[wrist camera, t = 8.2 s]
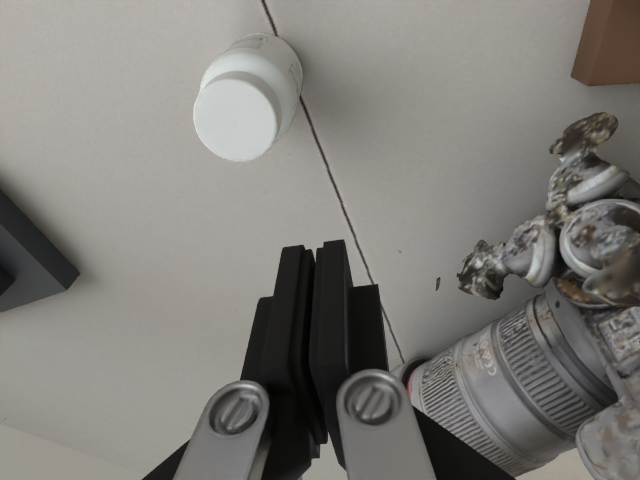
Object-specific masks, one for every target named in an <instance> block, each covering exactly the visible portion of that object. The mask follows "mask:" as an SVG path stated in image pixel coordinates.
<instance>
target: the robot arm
mask: <svg viewBox="0 0 640 480" xmlns="http://www.w3.org/2000/svg"><path fill="white" fill-rule="evenodd" d="M328 432H329V435H330V438H331V441H332V444H333V447H334V450H335V453H336V456H337V459H338V463H339V464H340V465H341V466H342V467H343V468H344V469H345V470H346V471H347V477H348V480H516V479H515V478H514V477H512V476H511V475H509V474H508V473H507V472H505V471H504V470H502V469H501V468H500V467H498V466H497V465H495V464H494V463H493V462H491V461H490V460H489V459H487V458H486V457H484V456H483V455H482V454H480V453H479V452H477V451H476V450H475V449H473V448H472V447H470V446H469V445H468V444H466V443H465V442H463V441H462V440H461V439H459V438H458V437H456V436H455V435H454V434H452V433H451V432H449V431H448V430H447V429H445V428H444V427H442V426H441V425H440V424H438V423H437V422H435V421H434V420H433V419H431V418H430V417H428V416H427V415H426V414H424V413H423V412H421V411H420V410H419V409H417V408H416V407H415V406H413V405H412V404H411V401H410V398H409V395H408V392H407V390H406V388H405V386H404V384H403V383H402V382H401V381H400V380H399V379H398V378H397V377H396V376H395V375H393V374H391V373H389V365H388V357H387V348H386V340H385V332H384V324H383V316H382V309H381V302H380V295H379V288H378V284H375V285H366V286H357V287H353V282H352V277H351V271H350V266H349V261H348V256H347V250H346V245H345V241H344V239H343V240H335V241H328V242H324V245H323V248H317V250H316V263H315V259H314V255H313V252H312V250H311V249H308V250H305V247H304V245H298V246H290V247H284V248H283V249H282V253H281V258H280V263H279V269H278V274H277V279H276V284H275V290H274V295H273V296H271V297H263V298H260V299H259V301H258V304H257V309H256V313H255V317H254V322H253V326H252V330H251V335H250V339H249V343H248V348H247V352H246V356H245V361H244V365H243V369H242V374H241V378H240V381H235V382H233V383H230V384H227V385H226V386H224V387H222V388H221V389H219V390H218V391H217V392H216V393H215V394H214V395H213V396H212V397H211V398H210V399H209V401H208V403H207V404H206V406H205V408H204V410H203V412H202V414H201V417H200V419H199V421H198V424H197V426H196V428H195V430H194V433H193V435H192V437H191V439H190V440H188V441H187V442H186V443H185V444H184V445H182V446H181V447H180V448H179V449H178V450H176V451H175V452H174V453H173V454H172V455H171V456H169V457H168V458H167V459H166V460H165V461H163V462H162V463H161V464H160V465H159V466H157V467H156V468H155V469H154V470H153V471H151V472H150V473H149V474H148V475H147V476H146V477H144V478H143V479H142V480H302V475H303V474H304V472H305V471H306V470H307V469H308V468H309V467H310V466H311V460H312V459H313V458H320V444H327V441H328Z"/></svg>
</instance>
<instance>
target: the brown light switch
mask: <svg viewBox="0 0 640 480" xmlns="http://www.w3.org/2000/svg"><path fill="white" fill-rule="evenodd" d="M571 77H572V78H574V79H576V80H578V81H579V82H581V83H583V84H585V85H587V86H598V85H614V84H630V83H640V0H591V2H590V6H589V9H588V13H587V17H586V21H585V25H584V28H583V32H582V36H581V40H580V43H579V47H578V51H577V55H576V58H575V62H574V66H573V70H572V74H571Z"/></svg>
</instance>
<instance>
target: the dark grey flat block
mask: <svg viewBox="0 0 640 480" xmlns="http://www.w3.org/2000/svg"><path fill="white" fill-rule="evenodd" d="M79 275H80V273H79V272H78V271H77V270H76V269H75V268H74V267H73V266H72V265H71V264H70V263H69V262H68V261H67V260H66V259H65V258H64V256H63V255H62V254H61V253H60V252H59V251H58V250H57V249H56V248H55V247H54V246H53V245H52V244H51V243H50V242H49V241H48V240H47V239H46V238H45V236H44V235H43V234H42V233H41V232H40V231H39V230H38V229H37V228H36V227H35V226H34V225H33V224H32V223H31V222H30V221H29V220H28V219H27V218H26V216H25V215H24V214H23V213H22V212H21V211H20V210H19V209H18V208H17V207H16V206H15V205H14V204H13V203H12V202H11V201H10V200H9V199H8V198H7V196H6V195H5V194H4V193H3V192H2V191H1V190H0V312H3V311H6V310H9V309H12V308H15V307H18V306H21V305H24V304H27V303H30V302H33V301H36V300H39V299H42V298H45V297H48V296H51V295H54V294H57V293H60V292H63V291H66V290H68V288H69V287H70V286H71V285H72V283H73V282H74V281H75V280H76V278H77V277H78V276H79Z"/></svg>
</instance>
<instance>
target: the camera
mask: <svg viewBox="0 0 640 480" xmlns="http://www.w3.org/2000/svg"><path fill="white" fill-rule="evenodd" d="M617 126H618V120H617V118H616V117H615V116H612V115H609V114H607V113H606V112H601V113H595V114H593V115H591V116H589V117H588V118H584V119H581V120H579V121H577V122H575V123H574V124H572V125H570V126H569V127H568V128H567V129H566V130H564V132H563V137H562V138H560V139H558V140H556V141H555V142H554V143H553V145H552V146H551V147H550V148H549V151H550V154H560V155H562V156H561V157H560V158H559V159H560V160H561V163H560V165H559V167H558V169H557V170H556V171H555V173H554V174H553V175H552V177H551V178H550V182H549V186H548V198H549V199H548V201H547V202H546V208H545V209H546V210H547V211H548V212H549V213H550V214H549V216H548V215H546V214H541V215H537V216H536V217H535V218H533V219H532V220H531V221H530V220H528V221H526V222H525V223H522V224H520V225H519V226H517V227H516V228H515V230H514V234H513V235H512V237H511V238H510V239H509V241H508V243H507V244H505V243H503V242H500V244H499V246H489V245H488V244H487V243H486V242H485V241H484V240H480V241H479V242H478V243H477V245H476V246H475V247H474V253H471V255H469V256H467V257H466V258H465V259H464V260H463V262H464V261H465V265H464V268H463V271H462V272H461V273H460V274H458V273H457V277H459V281H460V282H461V283H460V285H459V286H458V288H459V289H460V290H462V291H464V292H466V293H468V294H473V295H476V296H478V297H485V298H487V299H493V300H496V299H498V298H500V294H501V292H502V291H503V282H504V278H505V277H506V276H507V275H508V274H509V273H511V274H516V275H518V276H519V277H520V278H522V279H525V280H526V281H527V282H528V283H529V284H530V285H531V286H532V287H534V288H540V287H544V290H545V293H544V294H543V295H537V296H535V297H534V298H532V299H530V300H527V301H525V302H524V303H523V304H521V305H520V306H518V307H517V308H515V309H514V310H512V311H511V312H509V313H508V314H507V315H505V316H504V317H503V318H501V319H497V320H495V321H493V322H492V323H490V324H489V325H487V326H486V327H485V328H483V329H482V330H480V331H479V332H477V333H476V334H471V335H468V336H466V337H465V338H463V339H460V340H459V341H457V342H456V343H454V344H453V345H452V346H450V347H449V348H447V349H446V350H445V351H443V352H442V353H440V354H439V355H437V356H436V357H434V358H433V359H432V358H427V357H419V358H415V359H412V360H410V361H408V362H406V363H404V364H403V365H400V366H398V367H397V368H395V369H393V370H392V371H390V372H389V373H391V374H393V375H395V376H396V377H397V378H398V379H399V380H400V381H401V382H402V383H403V384H404V386H405V388H406V390H407V392H408V395H409V398H410V401H411V404H412V405H413V406H415V407H416V408H417V409H419V410H420V411H421V412H423V413H424V414H426V415H427V416H428V417H430V418H431V419H433V420H434V421H435V422H437V423H438V424H440V425H441V426H442V427H444V428H445V429H447V430H448V431H449V432H451V433H452V434H454V435H455V436H456V437H458V438H459V439H461V440H462V441H463V442H465V443H466V444H468V445H469V446H470V447H472V448H473V449H475V450H476V451H477V452H479V453H480V454H482V455H483V456H484V457H486V458H487V459H489V460H490V461H491V462H493V463H494V464H495V465H497V466H498V467H500V468H501V469H502V470H504V471H505V472H507V473H508V474H509V475H511V476H512V477H514V478H515V477H517V476H520V475H522V474H524V473H527V472H529V471H532V470H535V469H537V468H540V467H542V466H544V465H546V464H547V463H548V462H551V461H552V460H554V459H555V458H556V457H557V456H559V454H561V453H564V452H566V451H569V450H571V449H574V448H576V447H577V449H578V451H579V454H580V457H581V459H582V461H583V463H584V465H585V467H586V468H587V470H588V471H589V473H590V474H591V475H592V476H593V478H594V479H595V480H640V185H639V184H638V183H637V182H636V181H634V180H633V179H632V178H630V177H629V175H630V174H629V173H628V172H627V171H625V170H620V169H619V168H618V167H617V166H612V165H611V164H609V163H608V162H606V161H603V160H601V159H600V158H598V157H597V156H596V155H595V154H596V152H597V149H598V147H597V146H598V145H599V144H600V143H602V142H604V141H606V140H608V139H609V138H610V137H611V136H612V135H613V134H614V132H615V130H616V128H617ZM439 284H440V277H439V278H437V282H436V291H437V290H438V288H439Z"/></svg>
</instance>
